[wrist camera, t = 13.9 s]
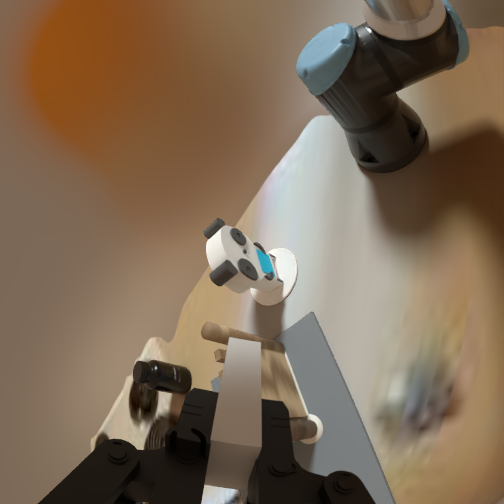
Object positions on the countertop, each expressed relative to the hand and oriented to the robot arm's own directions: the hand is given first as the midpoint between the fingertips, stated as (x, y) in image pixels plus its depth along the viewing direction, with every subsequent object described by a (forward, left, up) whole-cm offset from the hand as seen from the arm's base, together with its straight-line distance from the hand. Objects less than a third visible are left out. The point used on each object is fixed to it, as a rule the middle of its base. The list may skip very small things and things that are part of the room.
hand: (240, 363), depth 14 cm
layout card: (+6, -20, -30) cm, 36 cm away
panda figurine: (-24, -20, -30) cm, 43 cm away
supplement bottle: (-8, -48, -30) cm, 57 cm away
